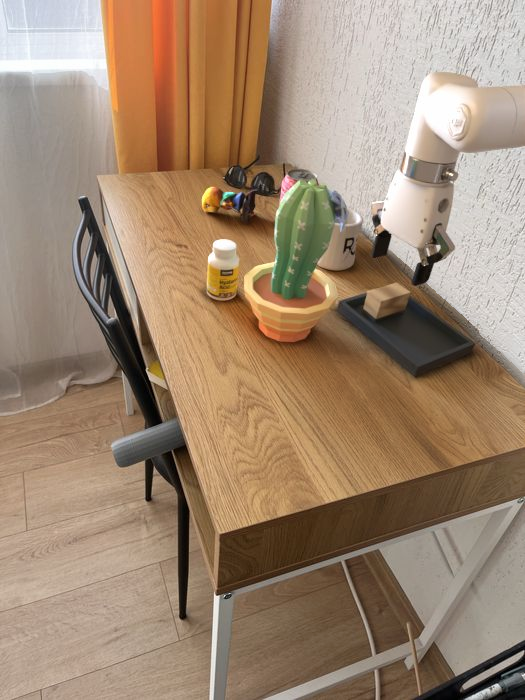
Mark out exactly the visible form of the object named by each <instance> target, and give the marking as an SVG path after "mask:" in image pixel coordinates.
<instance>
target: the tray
mask: <svg viewBox="0 0 525 700" xmlns="http://www.w3.org/2000/svg"><path fill="white" fill-rule="evenodd" d="M366 296H367V292H363V293H361V294H357V295H354V296H350V297H347V298H343V299H340V300H338V303H337V308H336V311H337V312H338V313H339V315H341V316H343V318H344V319H346V320H347V321H348V322H350V323H351V324H352V325H353V326H354V327H355V328H356V329H358V330H359V331H360V332H361V333H362V334H364V335H365V336H366V337H367V338H368V339H369V340H370V341H372V342H373V343H374V344H375V345H377V346H378V348H380V349H381V350H382V351H383V352H385V353H386V354H387V355H388V356H389V357H391V359H393V360H394V361H395V362H396V363H398V364H399V365H400V366H401V367H402V368H403V369H404V370H405V371H407V372H408V373H409V374H410V375H411V376H412V377H414V378H415V377H417V376H420V375H423V374H425V373H427V372H430V371H432V370H434V369H437V368H439V367H442V366H444V365H447V364H448V363H451V362H453V361H456V360H458V359H460V358H463V357H465V356H467V355H468V356H469V354H472V353H473V350H474V348H475V347H476V341H474V340H472V339H471V338H470V337H469V336H467V335H466V334H465V333H463V332H461V331H460V330H459V329H457V328H456V327H454V326H453V325H451V324H450V323H449V322H447V321H446V320H445V319H443V317H441V316H439V314H436V313H435V312H434V311H432V309H430V308H428V307H427V306H426V305H424V304H423V303H422V302H421V301H419V300H418V299H416V298H414V297H413V296H412V295H410V296H409V299H408V302H407V305H406V308H405V311H404V313H403V314H400V315H397V316H394V317H391V318H388V319H385V320H382V321H379V322H376V323H375V322H374V321H372V320H371V319H370V318H369V317H368V316H366V315H365V314H364V313H363V312H362V311H363V307H364V304H365V300H366Z"/></svg>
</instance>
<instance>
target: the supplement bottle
mask: <svg viewBox="0 0 525 700" xmlns="http://www.w3.org/2000/svg"><path fill="white" fill-rule="evenodd" d="M239 270H240V258H239V256H238V255H237V244H236V242H234V241H233V240H230V239H225V238H223V239H222V238H221V239H217V240H215V241H214V242H213V243H212V252H211V253H210V254H209V255H208V257H207V273H206V274H207V275H206V294H207V295H208V297H210V298H211V299H214V300H216V301H221V302H223V301H224V302H225V301H229V300H232V299H233V298H235V297H236V295H237V293H238V292H237V290H238V279H239Z"/></svg>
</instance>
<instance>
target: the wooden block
mask: <svg viewBox="0 0 525 700" xmlns="http://www.w3.org/2000/svg"><path fill="white" fill-rule="evenodd" d="M366 293H367V296H366V300H365V304H364V307H363V311H362V312H363V313H364V314H365V315H366V316H368V317H369V318H370V319H371V320H372V321H374V322H375V323H376V322H379V321H382V320H385V319H388V318H391V317H394V316H397V315H400V314H403V313H404V311H405V308H406V305H407V302H408V299H409V296H411V291H410V290H408V289H407V288H405V287H404V286H403V285H402V284H400V283H399V282H393V283H390V284H387V285H384V286H380V287H377V288H373V289H370V290H367V292H366Z"/></svg>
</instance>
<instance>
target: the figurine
mask: <svg viewBox="0 0 525 700" xmlns="http://www.w3.org/2000/svg"><path fill="white" fill-rule="evenodd" d="M257 191H258V189H252V190H250V191H249V192H248V193H247V194H245V193H244V192H240V193H237V192H232V191H226V192H224V191H223V190H222V189H221V188H219V187H216V186H210V187H209V188H206V190H205V191H204V194H203V195H202V199H201V206H202V210H203V211H204V212H205V213H216V212H218V211H219V210H220V209H223V210H226V211H229V210H230V211H231V210H233V211H235V212H236V213H238V214H239V213H240V215H239V216H240V217H241V221H242V222H243V223H244V224H246V225H248V224H249V223H248V220H249V219H250V218H252V217H253V216H255V212H254V210H255V209H256V193H257Z"/></svg>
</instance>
